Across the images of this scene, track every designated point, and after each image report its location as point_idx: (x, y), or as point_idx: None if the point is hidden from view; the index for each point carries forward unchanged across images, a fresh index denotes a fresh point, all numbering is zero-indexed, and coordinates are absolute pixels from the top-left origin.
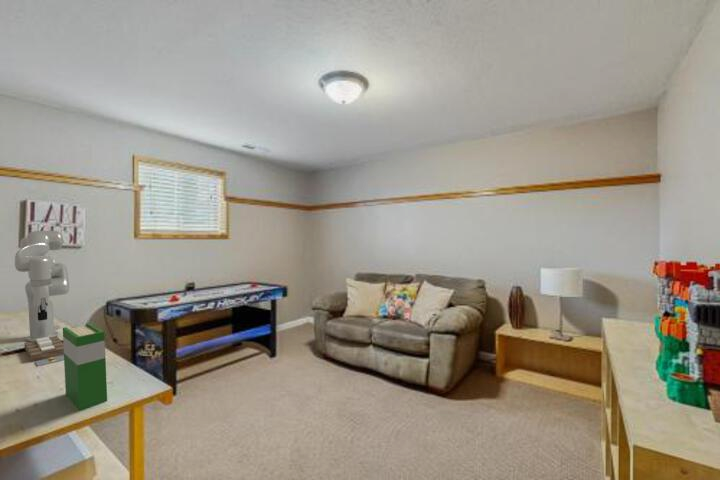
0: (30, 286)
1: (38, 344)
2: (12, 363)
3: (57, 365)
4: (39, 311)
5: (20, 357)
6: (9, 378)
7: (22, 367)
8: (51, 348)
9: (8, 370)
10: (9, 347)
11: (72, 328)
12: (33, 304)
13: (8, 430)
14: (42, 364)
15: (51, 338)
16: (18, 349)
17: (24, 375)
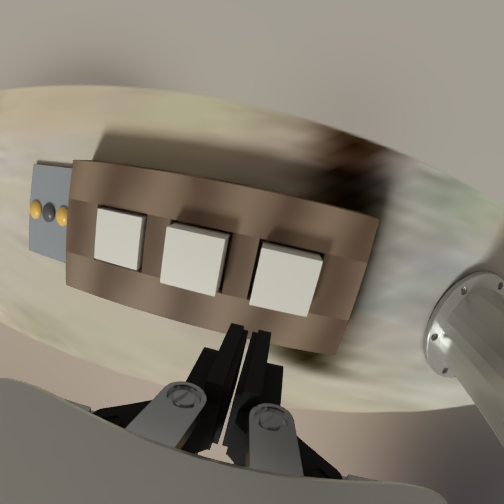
0: None
1: (214, 234)
2: (143, 106)
3: (7, 207)
4: (161, 397)
5: (208, 147)
6: (17, 94)
7: (64, 127)
8: (96, 245)
9: (75, 90)
10: (456, 190)
11: None
12: (297, 498)
13: None
14: (32, 178)
15: (318, 326)
16: (383, 193)
17: (6, 125)
